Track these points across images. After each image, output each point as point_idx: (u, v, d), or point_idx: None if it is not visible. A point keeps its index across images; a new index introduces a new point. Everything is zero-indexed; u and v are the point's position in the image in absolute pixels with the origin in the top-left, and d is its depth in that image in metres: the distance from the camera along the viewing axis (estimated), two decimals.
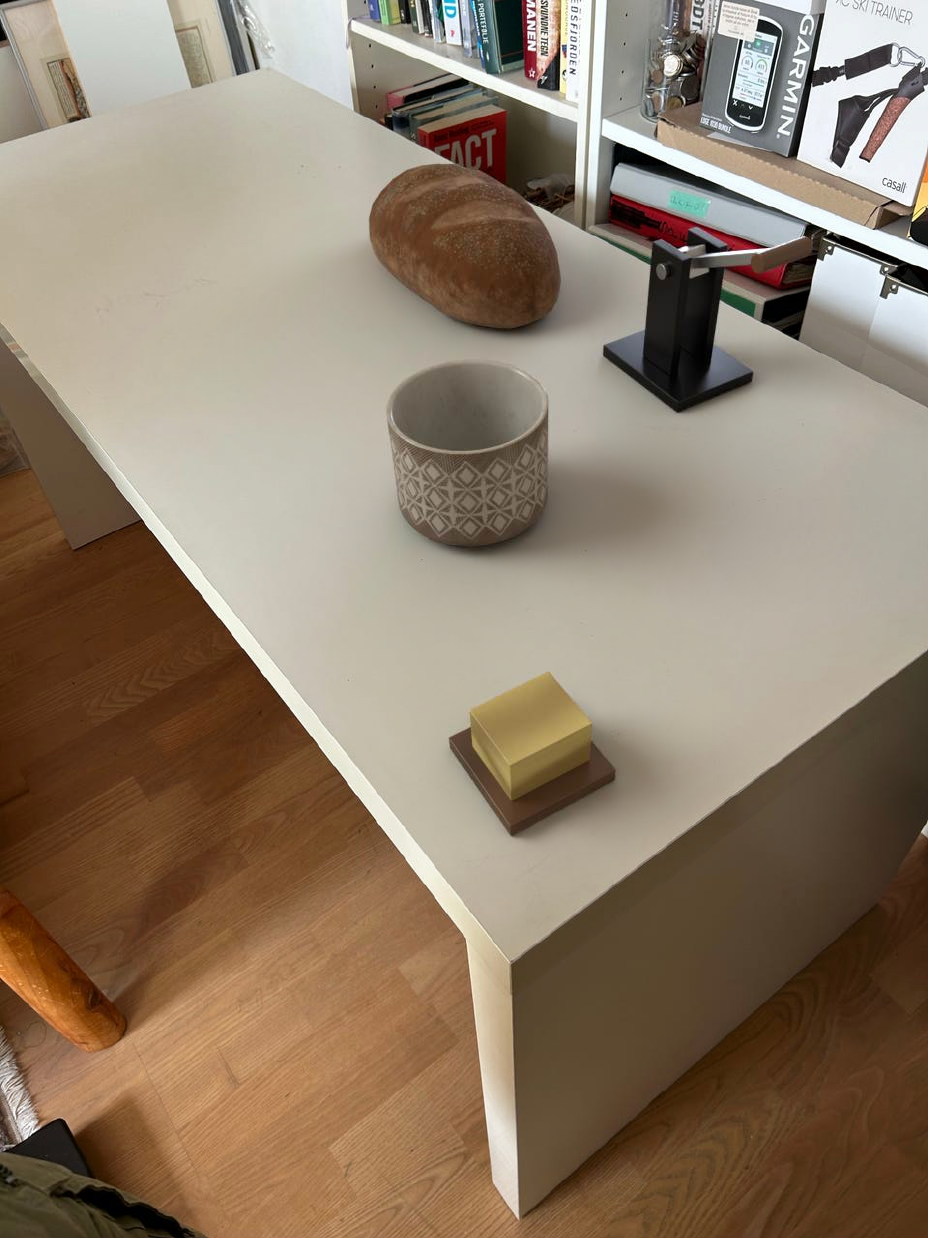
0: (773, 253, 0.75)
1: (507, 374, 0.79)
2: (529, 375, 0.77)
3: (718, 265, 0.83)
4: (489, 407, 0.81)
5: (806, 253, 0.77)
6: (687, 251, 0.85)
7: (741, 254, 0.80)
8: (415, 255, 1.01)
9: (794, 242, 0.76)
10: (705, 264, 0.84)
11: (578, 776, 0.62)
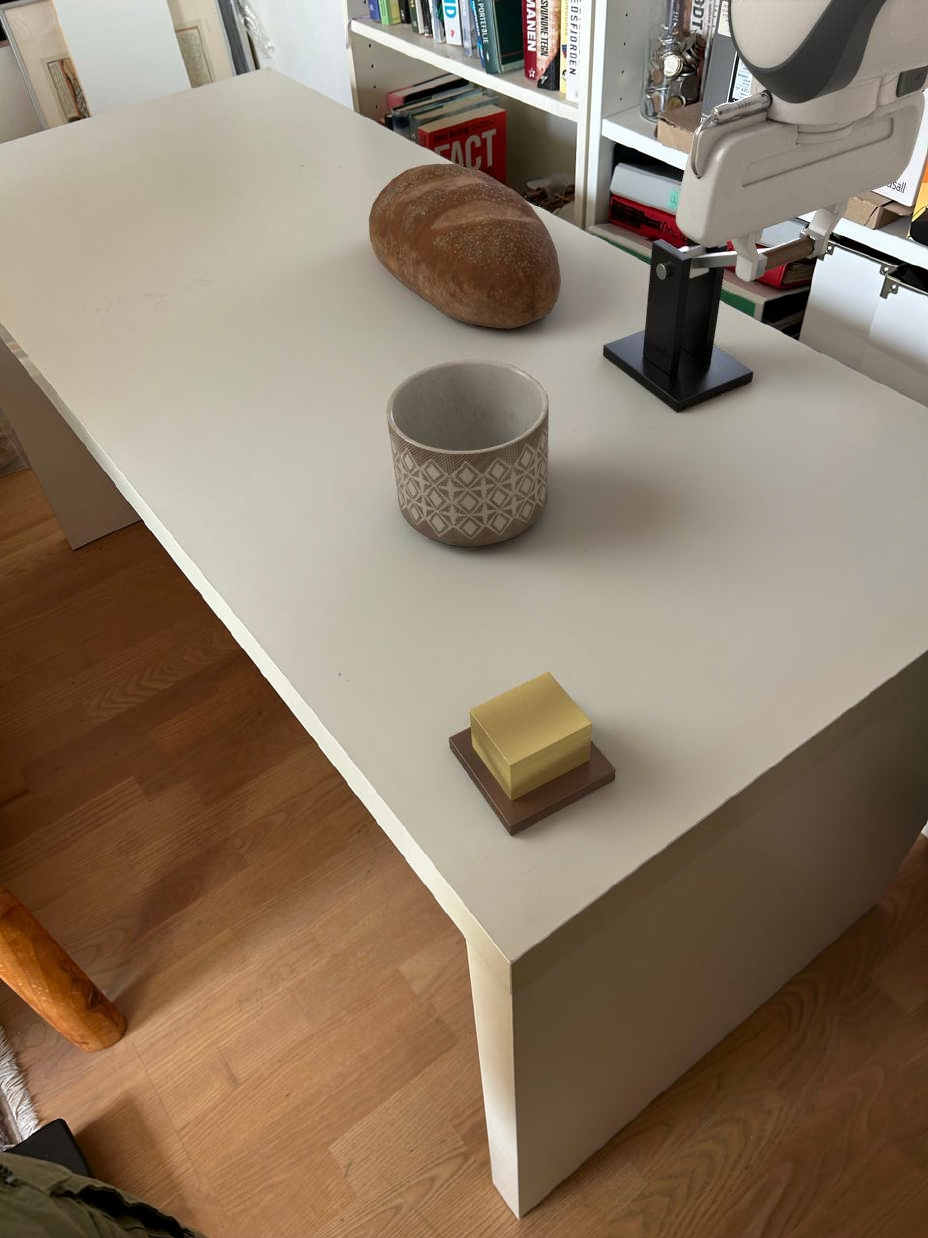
0: (773, 253, 0.75)
1: (507, 374, 0.79)
2: (529, 375, 0.77)
3: (718, 265, 0.83)
4: (489, 407, 0.81)
5: (806, 253, 0.77)
6: (687, 251, 0.85)
7: None
8: (415, 255, 1.01)
9: (794, 242, 0.76)
10: (705, 264, 0.84)
11: (578, 776, 0.62)
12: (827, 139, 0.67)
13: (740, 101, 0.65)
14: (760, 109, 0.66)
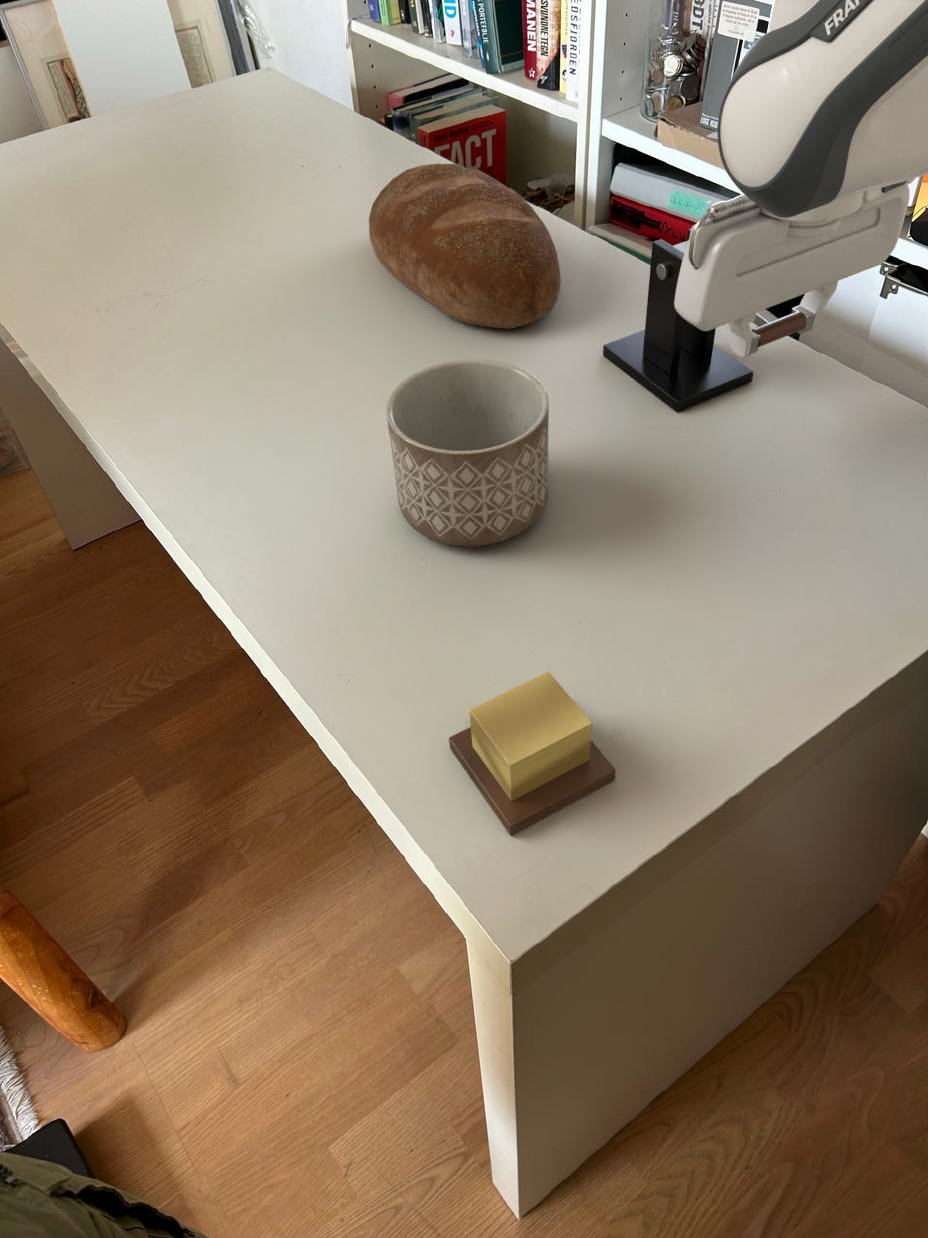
0: (771, 333, 0.79)
1: (507, 374, 0.79)
2: (529, 375, 0.77)
3: None
4: (489, 407, 0.81)
5: (798, 330, 0.81)
6: None
7: None
8: (415, 255, 1.01)
9: (792, 322, 0.80)
10: None
11: (578, 776, 0.62)
12: (817, 232, 0.71)
13: (735, 199, 0.69)
14: (754, 206, 0.70)
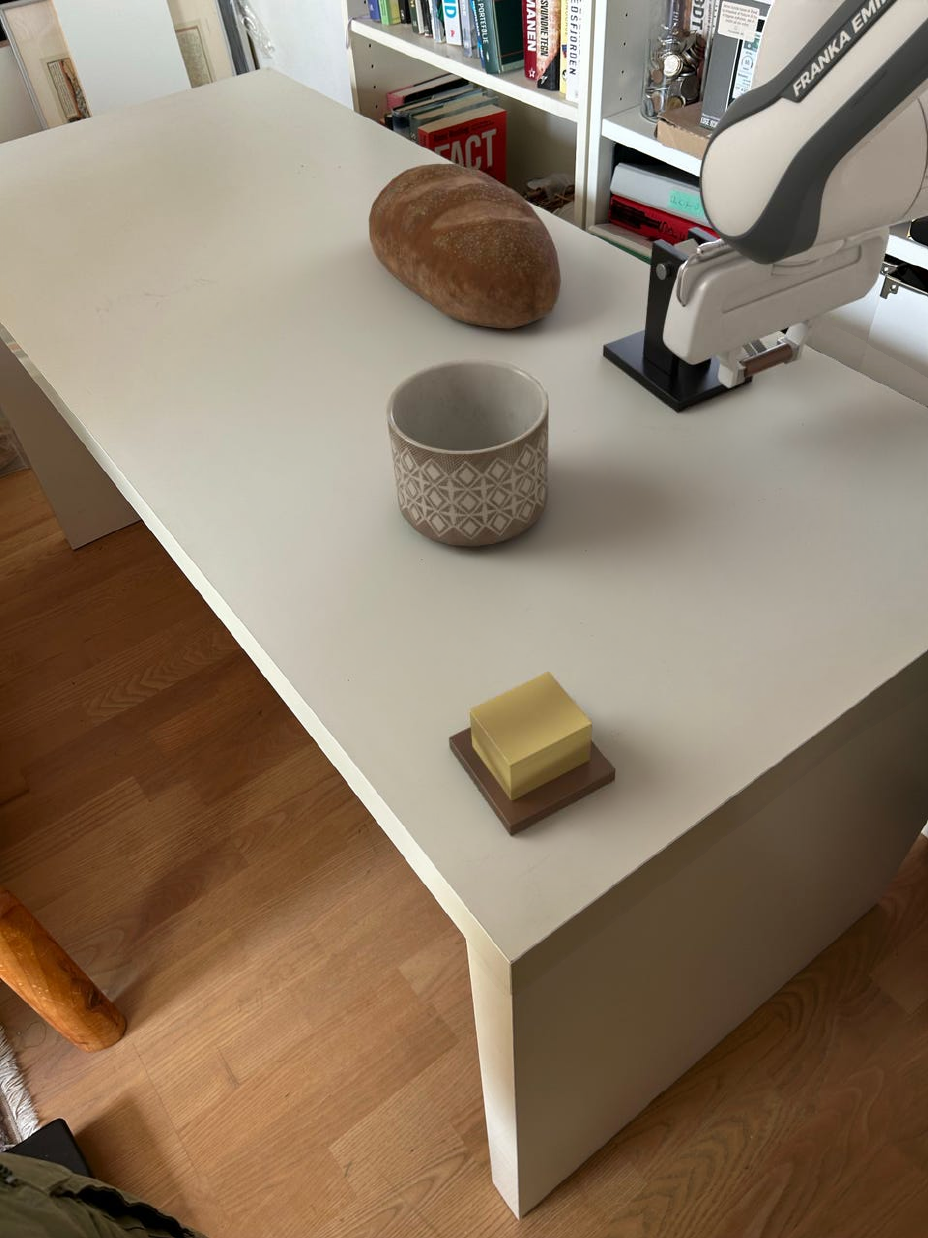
0: (758, 367, 0.82)
1: (507, 374, 0.79)
2: (529, 375, 0.77)
3: None
4: (489, 407, 0.81)
5: None
6: None
7: None
8: (415, 255, 1.01)
9: (779, 356, 0.83)
10: None
11: (578, 776, 0.62)
12: (799, 271, 0.74)
13: (720, 241, 0.72)
14: None
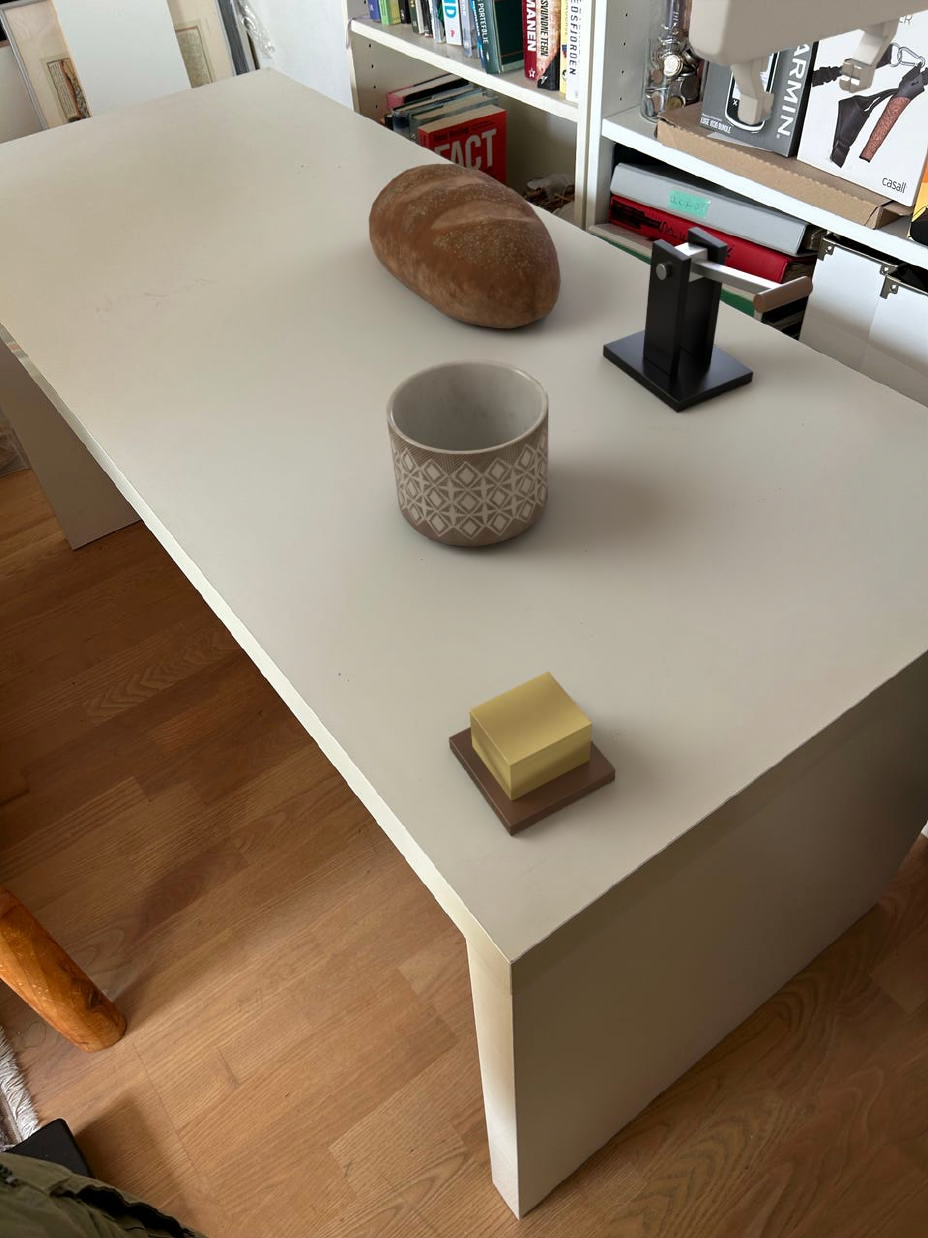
0: (776, 296, 0.77)
1: (507, 374, 0.79)
2: (529, 375, 0.77)
3: (718, 280, 0.83)
4: (489, 407, 0.81)
5: (806, 294, 0.79)
6: (689, 255, 0.85)
7: (743, 280, 0.81)
8: (415, 255, 1.01)
9: (797, 284, 0.78)
10: (706, 273, 0.85)
11: (578, 776, 0.62)
12: None
13: None
14: None
